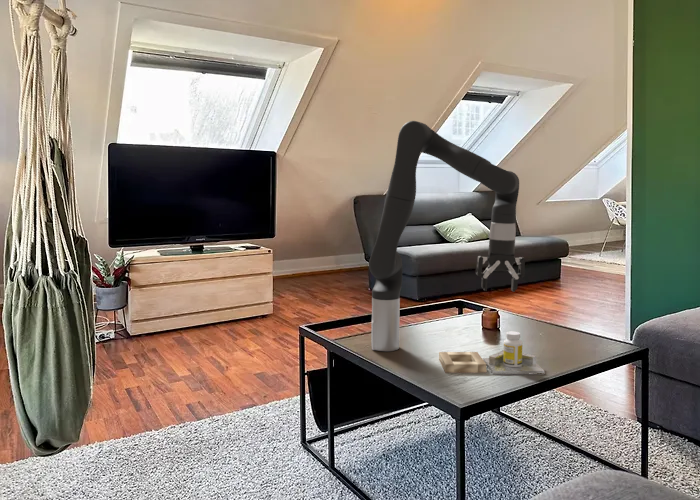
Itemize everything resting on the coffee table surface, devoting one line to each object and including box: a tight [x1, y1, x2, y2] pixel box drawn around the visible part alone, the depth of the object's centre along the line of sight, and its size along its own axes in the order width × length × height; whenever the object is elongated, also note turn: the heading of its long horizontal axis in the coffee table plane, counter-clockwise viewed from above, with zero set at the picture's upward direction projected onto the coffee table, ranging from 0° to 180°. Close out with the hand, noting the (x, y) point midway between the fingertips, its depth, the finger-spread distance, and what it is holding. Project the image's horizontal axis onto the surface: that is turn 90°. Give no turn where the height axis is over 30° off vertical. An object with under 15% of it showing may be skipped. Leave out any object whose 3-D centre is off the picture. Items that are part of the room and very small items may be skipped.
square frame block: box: [438, 351, 487, 374], centre depth 172 cm, size 12×12×2 cm
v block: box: [482, 349, 545, 375], centre depth 170 cm, size 15×12×4 cm
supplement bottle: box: [503, 330, 523, 367], centre depth 169 cm, size 5×5×10 cm
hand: (499, 290), depth 172 cm, fingers open, 8 cm apart
